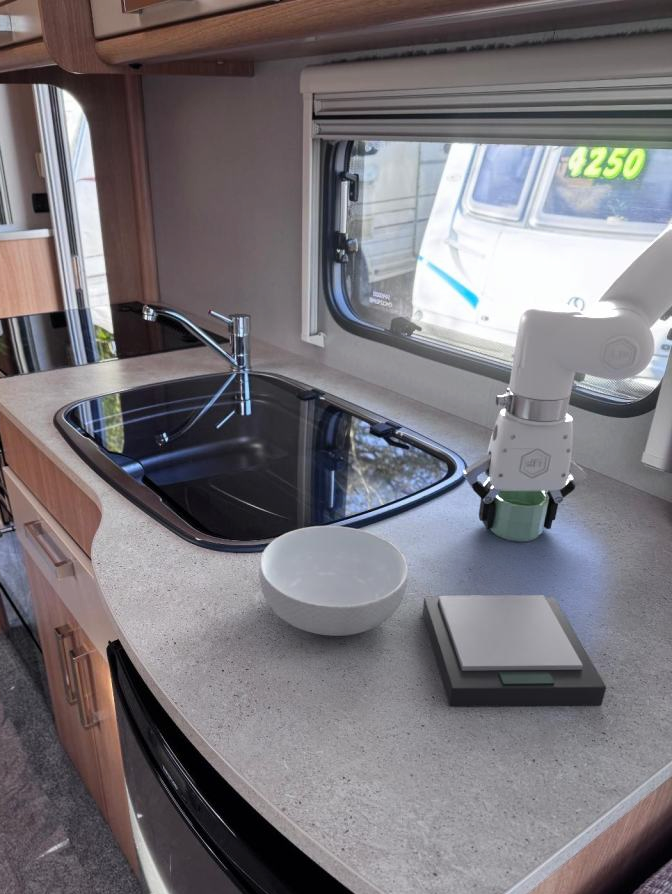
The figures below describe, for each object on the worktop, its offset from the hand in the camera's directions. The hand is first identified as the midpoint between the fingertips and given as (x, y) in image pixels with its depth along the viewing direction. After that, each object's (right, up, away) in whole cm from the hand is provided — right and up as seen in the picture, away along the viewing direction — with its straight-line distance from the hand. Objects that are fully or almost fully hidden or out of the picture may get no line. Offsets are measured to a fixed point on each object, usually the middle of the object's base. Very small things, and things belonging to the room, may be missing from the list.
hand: (515, 523), depth 101 cm
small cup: (0, -1, 0) cm, 1 cm away
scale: (-9, -14, -23) cm, 28 cm away
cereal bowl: (-27, -10, -17) cm, 33 cm away
